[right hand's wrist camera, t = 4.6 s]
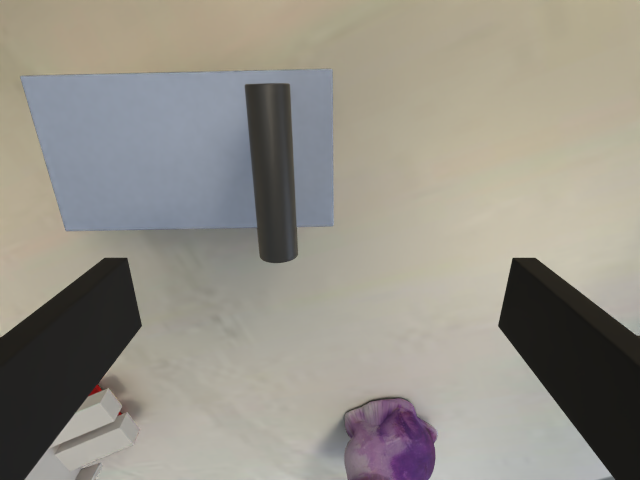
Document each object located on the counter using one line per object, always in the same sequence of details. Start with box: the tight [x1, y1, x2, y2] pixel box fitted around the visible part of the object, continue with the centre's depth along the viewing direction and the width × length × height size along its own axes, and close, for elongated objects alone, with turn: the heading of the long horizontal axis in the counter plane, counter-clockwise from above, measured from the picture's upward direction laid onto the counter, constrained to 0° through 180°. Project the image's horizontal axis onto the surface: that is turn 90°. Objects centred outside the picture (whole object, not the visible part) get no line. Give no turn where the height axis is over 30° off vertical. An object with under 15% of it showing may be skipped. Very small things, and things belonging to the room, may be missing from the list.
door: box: [20, 69, 334, 263], centre depth 20 cm, size 18×10×8 cm, turn 91°
